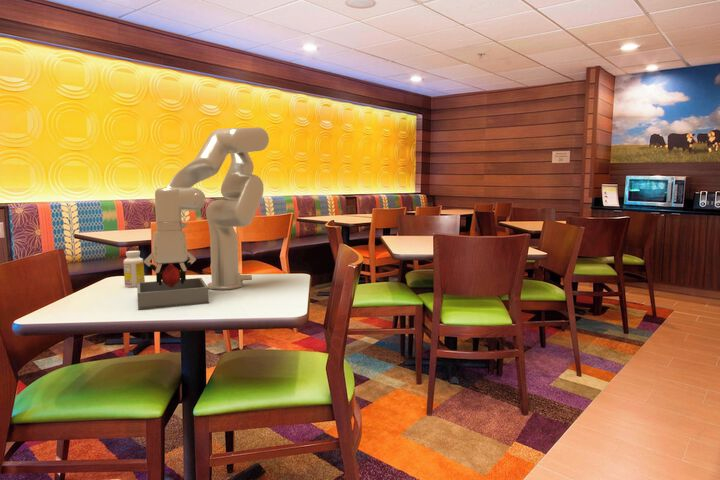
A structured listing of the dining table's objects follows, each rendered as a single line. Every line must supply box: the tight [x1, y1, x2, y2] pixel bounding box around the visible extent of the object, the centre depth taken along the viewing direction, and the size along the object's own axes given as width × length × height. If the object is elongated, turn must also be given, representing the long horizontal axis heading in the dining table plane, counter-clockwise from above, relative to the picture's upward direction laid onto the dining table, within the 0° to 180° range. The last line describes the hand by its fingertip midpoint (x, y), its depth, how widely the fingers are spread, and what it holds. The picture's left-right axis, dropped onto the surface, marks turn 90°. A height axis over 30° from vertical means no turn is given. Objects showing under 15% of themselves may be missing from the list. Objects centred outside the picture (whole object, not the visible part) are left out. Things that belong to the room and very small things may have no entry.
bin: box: [136, 277, 210, 311], centre depth 154 cm, size 20×18×5 cm
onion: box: [161, 263, 181, 287], centre depth 153 cm, size 6×6×8 cm
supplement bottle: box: [123, 250, 146, 288], centre depth 177 cm, size 7×7×13 cm
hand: (171, 283), depth 154 cm, fingers closed on onion, 5 cm apart
